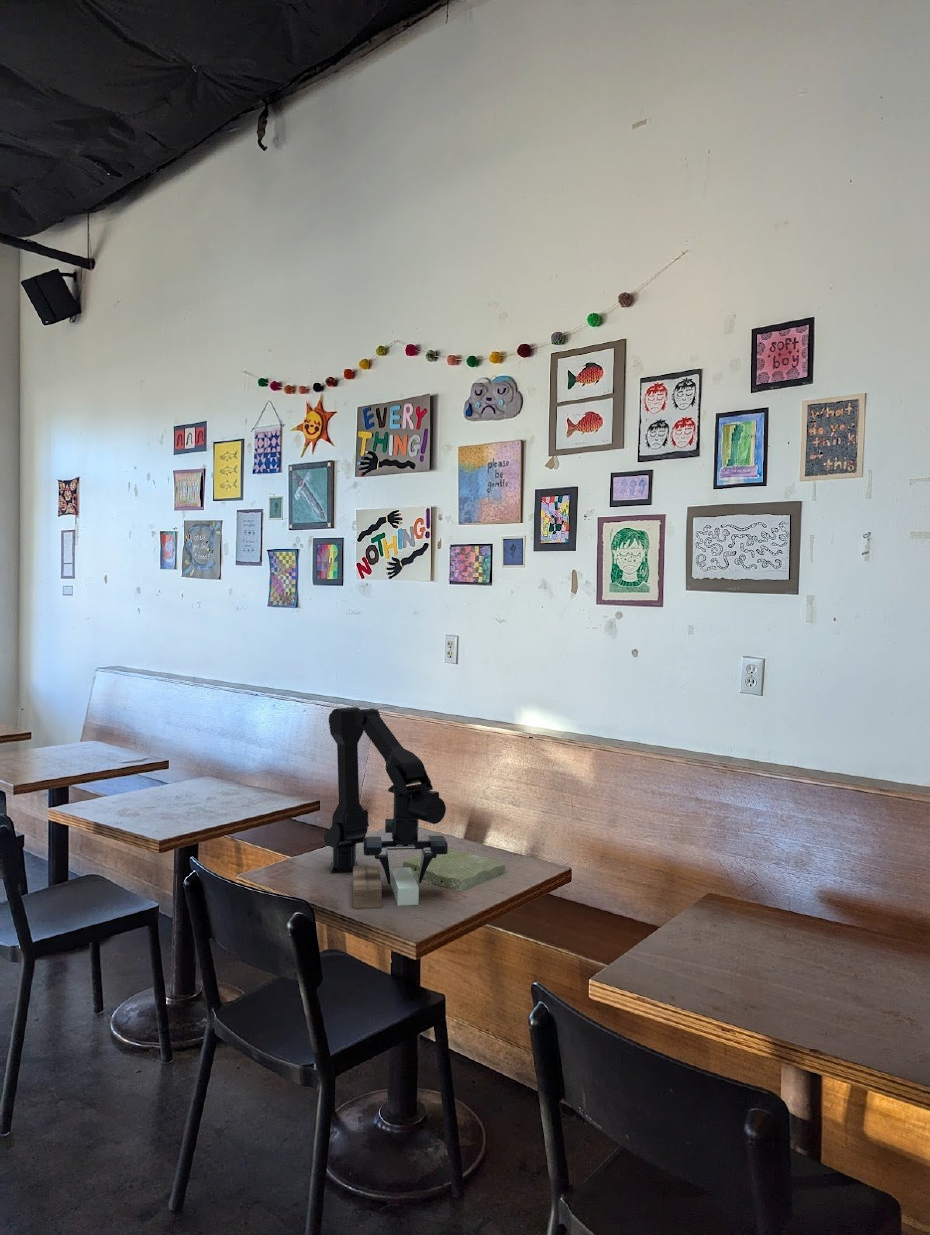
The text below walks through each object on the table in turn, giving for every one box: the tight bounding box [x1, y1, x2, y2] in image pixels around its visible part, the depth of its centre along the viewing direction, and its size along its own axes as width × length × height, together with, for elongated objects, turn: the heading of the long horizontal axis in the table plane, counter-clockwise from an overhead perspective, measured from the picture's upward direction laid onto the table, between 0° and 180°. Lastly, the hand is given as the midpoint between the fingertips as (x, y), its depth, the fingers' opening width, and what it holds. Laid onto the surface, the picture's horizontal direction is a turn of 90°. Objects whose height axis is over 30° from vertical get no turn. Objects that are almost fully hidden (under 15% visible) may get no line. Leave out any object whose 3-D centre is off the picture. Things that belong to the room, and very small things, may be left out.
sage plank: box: [390, 867, 420, 907], centre depth 194 cm, size 14×4×4 cm, turn 11°
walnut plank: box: [352, 865, 383, 909], centre depth 193 cm, size 16×6×4 cm, turn 8°
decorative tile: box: [401, 847, 507, 892], centre depth 209 cm, size 19×20×4 cm
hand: (404, 883), depth 194 cm, fingers open, 7 cm apart
